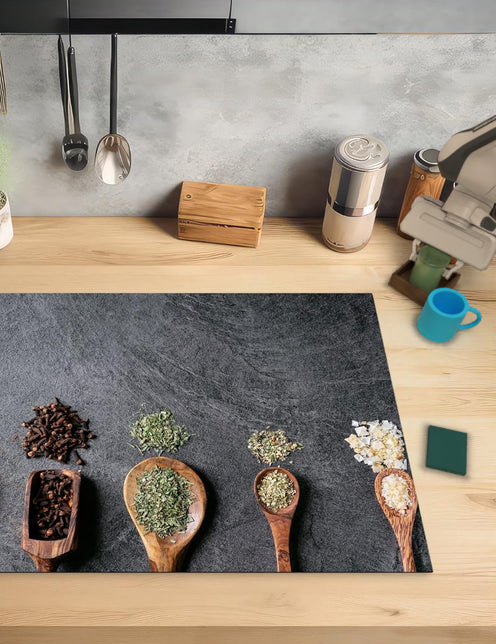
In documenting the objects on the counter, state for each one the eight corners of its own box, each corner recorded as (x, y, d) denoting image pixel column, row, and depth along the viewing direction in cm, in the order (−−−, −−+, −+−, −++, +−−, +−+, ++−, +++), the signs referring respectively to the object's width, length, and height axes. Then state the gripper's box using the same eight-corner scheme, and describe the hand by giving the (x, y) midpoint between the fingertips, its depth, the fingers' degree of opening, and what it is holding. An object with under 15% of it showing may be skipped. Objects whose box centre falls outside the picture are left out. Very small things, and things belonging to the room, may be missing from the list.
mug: (417, 339, 155) (429, 315, 149) (415, 310, 160) (426, 285, 153) (476, 347, 154) (490, 322, 147) (472, 317, 159) (486, 292, 152)
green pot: (443, 283, 164) (456, 255, 156) (426, 299, 161) (439, 270, 154) (418, 268, 166) (430, 239, 159) (401, 283, 164) (413, 254, 157)
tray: (455, 285, 164) (461, 274, 161) (428, 311, 160) (433, 300, 157) (415, 260, 169) (419, 249, 166) (387, 284, 164) (391, 274, 162)
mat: (428, 427, 143) (429, 424, 142) (465, 435, 141) (467, 433, 141) (425, 467, 137) (427, 464, 137) (464, 476, 136) (466, 473, 135)
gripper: (418, 188, 157) (383, 245, 161) (509, 231, 149) (470, 291, 153) (421, 193, 163) (388, 249, 166) (510, 235, 155) (472, 293, 158)
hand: (428, 269), depth 159 cm, fingers closed on green pot, 6 cm apart
